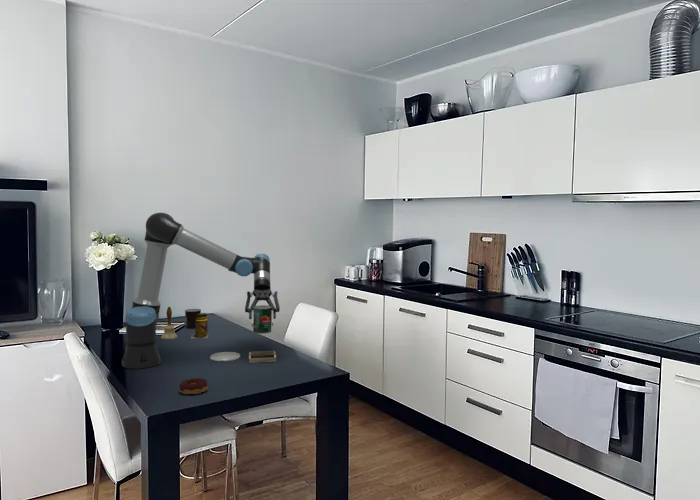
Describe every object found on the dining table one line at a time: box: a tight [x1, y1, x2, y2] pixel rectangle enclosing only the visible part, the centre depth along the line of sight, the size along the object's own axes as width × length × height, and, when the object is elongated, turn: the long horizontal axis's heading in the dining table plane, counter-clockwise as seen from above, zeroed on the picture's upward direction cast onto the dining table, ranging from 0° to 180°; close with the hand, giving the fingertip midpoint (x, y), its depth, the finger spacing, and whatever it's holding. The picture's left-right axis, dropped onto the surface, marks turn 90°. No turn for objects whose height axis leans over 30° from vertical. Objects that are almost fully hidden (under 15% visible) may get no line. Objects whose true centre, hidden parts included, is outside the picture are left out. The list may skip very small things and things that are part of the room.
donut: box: [178, 377, 209, 395], centre depth 180 cm, size 10×10×4 cm
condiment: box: [190, 312, 209, 339], centre depth 261 cm, size 7×8×12 cm
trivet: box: [209, 351, 241, 362], centre depth 224 cm, size 13×13×1 cm
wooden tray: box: [248, 350, 277, 364], centre depth 221 cm, size 12×12×2 cm
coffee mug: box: [184, 308, 202, 330], centre depth 283 cm, size 12×9×10 cm
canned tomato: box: [252, 304, 272, 334], centre depth 220 cm, size 8×8×11 cm
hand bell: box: [160, 306, 178, 340], centre depth 258 cm, size 8×8×16 cm
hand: (262, 324), depth 217 cm, fingers closed on canned tomato, 8 cm apart
